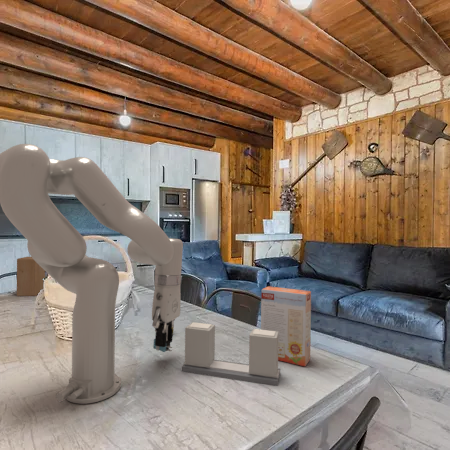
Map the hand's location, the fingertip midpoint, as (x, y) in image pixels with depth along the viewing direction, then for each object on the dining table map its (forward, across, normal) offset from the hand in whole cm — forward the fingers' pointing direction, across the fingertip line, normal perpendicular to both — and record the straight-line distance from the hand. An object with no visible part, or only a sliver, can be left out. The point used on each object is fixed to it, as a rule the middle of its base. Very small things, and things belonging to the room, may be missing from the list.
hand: (163, 343), depth 91 cm
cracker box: (+4, +14, -34) cm, 37 cm away
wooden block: (+6, +54, +106) cm, 119 cm away
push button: (+2, 0, 0) cm, 2 cm away
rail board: (+5, 0, -20) cm, 21 cm away
